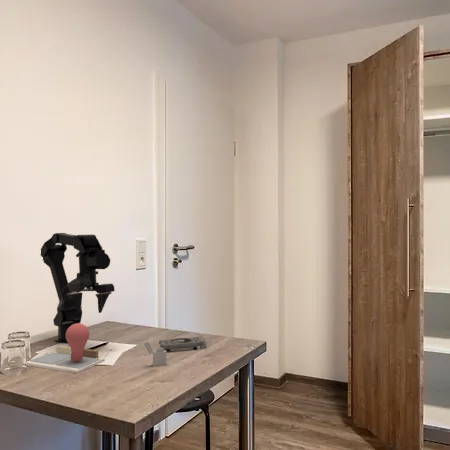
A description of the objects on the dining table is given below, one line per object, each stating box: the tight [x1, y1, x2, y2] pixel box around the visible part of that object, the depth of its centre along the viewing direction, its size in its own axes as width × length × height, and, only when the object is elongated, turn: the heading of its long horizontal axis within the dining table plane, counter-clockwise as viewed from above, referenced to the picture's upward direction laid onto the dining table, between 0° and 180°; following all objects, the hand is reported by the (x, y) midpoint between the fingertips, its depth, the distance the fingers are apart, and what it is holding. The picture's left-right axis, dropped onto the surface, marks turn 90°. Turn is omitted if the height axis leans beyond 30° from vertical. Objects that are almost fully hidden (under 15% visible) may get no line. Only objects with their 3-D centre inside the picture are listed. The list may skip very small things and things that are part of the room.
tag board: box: [25, 345, 105, 374], centre depth 145 cm, size 21×13×3 cm, turn 67°
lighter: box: [143, 339, 167, 367], centre depth 143 cm, size 7×2×8 cm, turn 105°
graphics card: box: [158, 333, 211, 352], centre depth 164 cm, size 17×4×12 cm
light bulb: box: [66, 322, 90, 362], centre depth 143 cm, size 7×7×12 cm
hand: (89, 312), depth 163 cm, fingers open, 9 cm apart
